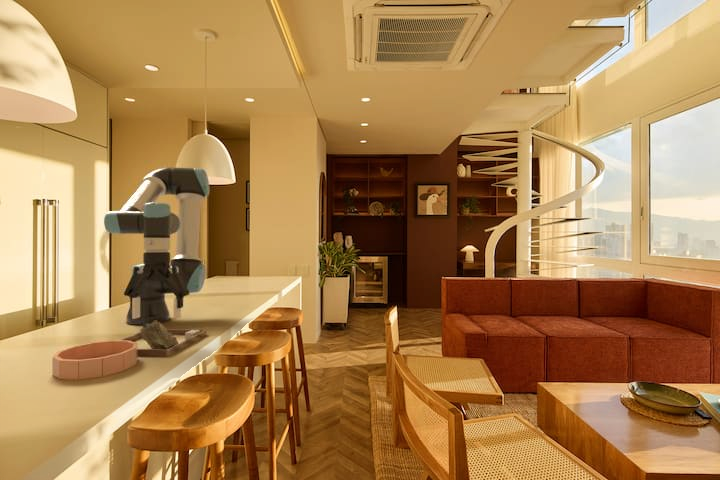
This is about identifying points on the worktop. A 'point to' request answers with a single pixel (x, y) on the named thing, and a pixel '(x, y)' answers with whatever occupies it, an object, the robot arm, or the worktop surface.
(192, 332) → the beige rectangular block
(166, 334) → the rock
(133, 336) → the tray
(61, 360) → the bowl
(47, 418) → the worktop surface
